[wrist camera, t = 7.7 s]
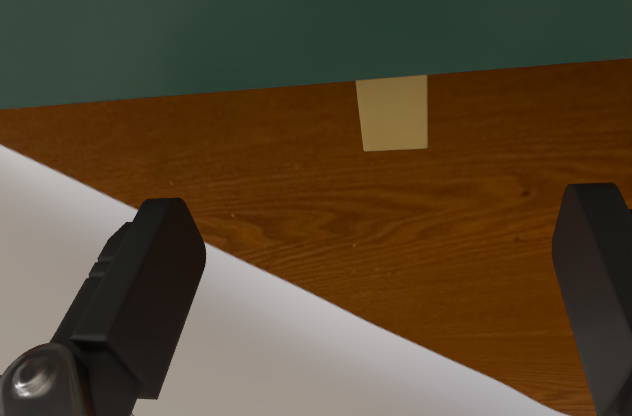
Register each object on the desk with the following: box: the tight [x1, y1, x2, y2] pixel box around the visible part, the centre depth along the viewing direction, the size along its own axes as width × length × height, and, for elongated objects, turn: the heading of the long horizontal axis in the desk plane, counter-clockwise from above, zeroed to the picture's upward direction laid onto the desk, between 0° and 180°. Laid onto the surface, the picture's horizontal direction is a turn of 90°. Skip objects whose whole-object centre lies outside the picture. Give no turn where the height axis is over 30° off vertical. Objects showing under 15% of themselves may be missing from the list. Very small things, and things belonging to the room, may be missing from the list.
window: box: [356, 75, 428, 151], centre depth 14 cm, size 8×6×8 cm
